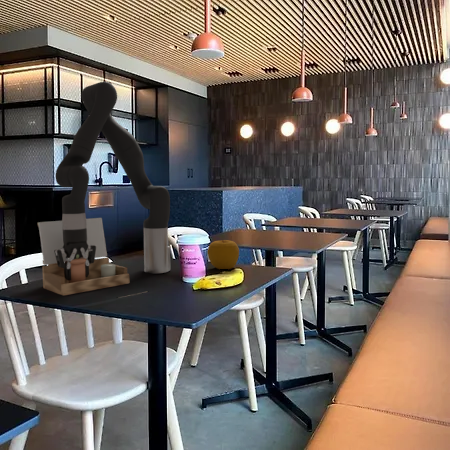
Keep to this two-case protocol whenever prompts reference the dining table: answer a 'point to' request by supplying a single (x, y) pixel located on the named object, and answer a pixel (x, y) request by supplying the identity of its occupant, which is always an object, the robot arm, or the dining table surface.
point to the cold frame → (60, 285)
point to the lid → (54, 240)
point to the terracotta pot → (77, 269)
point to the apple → (223, 254)
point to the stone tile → (132, 294)
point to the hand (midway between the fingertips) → (77, 278)
